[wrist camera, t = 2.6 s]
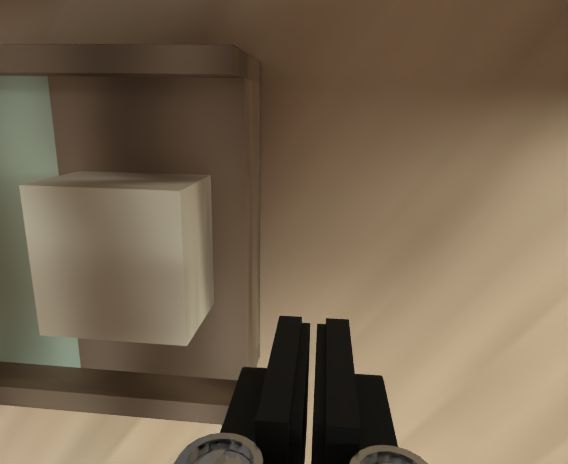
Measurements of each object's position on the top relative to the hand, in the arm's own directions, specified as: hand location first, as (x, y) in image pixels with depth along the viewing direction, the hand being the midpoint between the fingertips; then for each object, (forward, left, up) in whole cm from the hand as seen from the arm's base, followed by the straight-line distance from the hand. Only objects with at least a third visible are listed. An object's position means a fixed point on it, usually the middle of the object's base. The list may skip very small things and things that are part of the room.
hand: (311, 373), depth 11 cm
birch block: (+8, 0, -9) cm, 12 cm away
